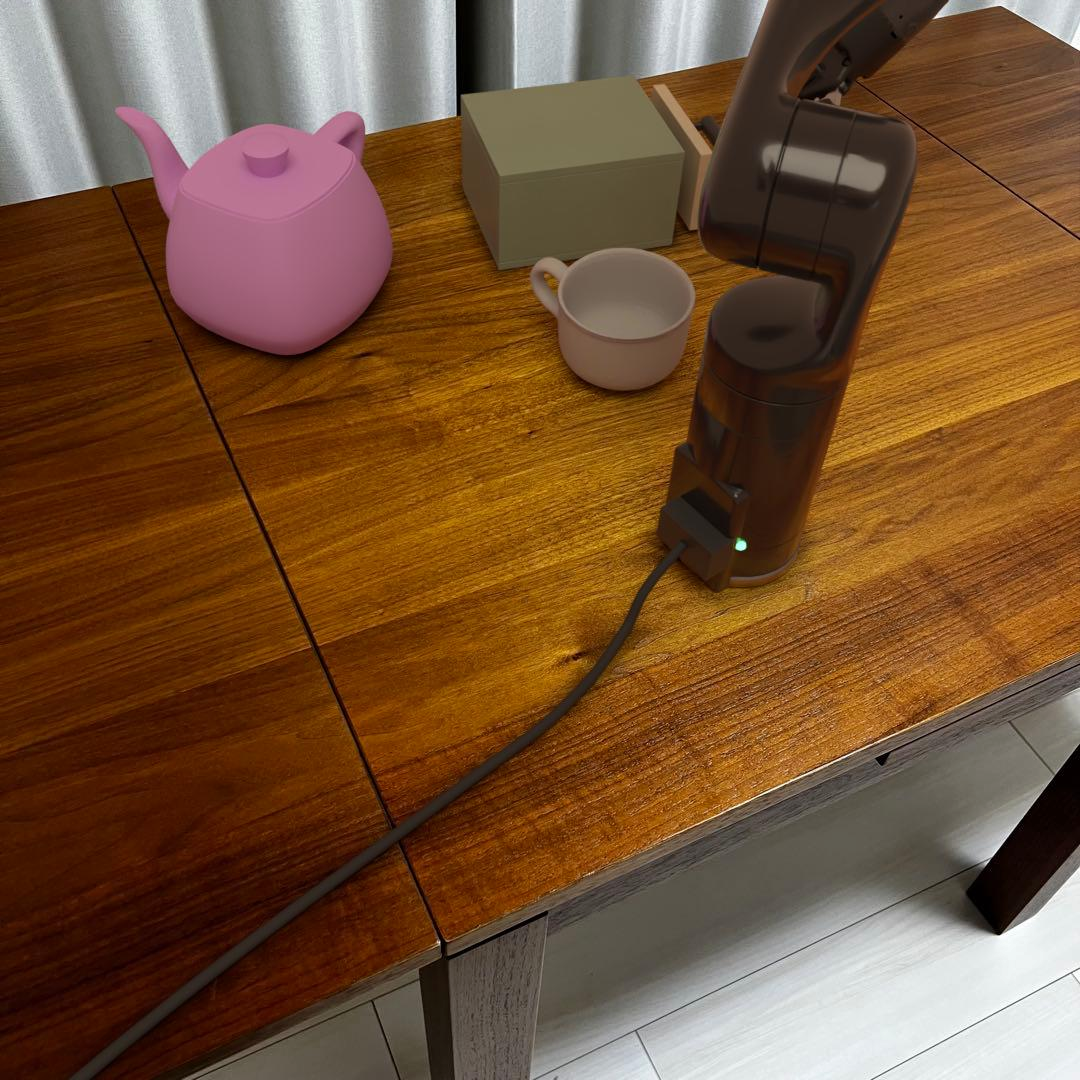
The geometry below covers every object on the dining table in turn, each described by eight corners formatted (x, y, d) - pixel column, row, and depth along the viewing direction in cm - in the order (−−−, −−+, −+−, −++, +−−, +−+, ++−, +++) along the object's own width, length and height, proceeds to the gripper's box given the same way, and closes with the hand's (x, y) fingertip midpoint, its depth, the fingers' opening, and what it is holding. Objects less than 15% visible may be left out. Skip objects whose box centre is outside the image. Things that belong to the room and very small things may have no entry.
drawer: (696, 152, 119) (707, 78, 113) (744, 222, 111) (759, 147, 106) (505, 177, 115) (506, 102, 109) (541, 252, 107) (544, 175, 101)
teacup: (709, 366, 99) (723, 288, 93) (625, 430, 94) (634, 351, 88) (584, 292, 105) (590, 214, 99) (498, 348, 100) (499, 269, 94)
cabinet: (624, 166, 119) (633, 74, 111) (672, 245, 110) (685, 151, 103) (462, 187, 115) (460, 94, 108) (498, 270, 107) (499, 175, 99)
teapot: (444, 255, 108) (440, 99, 97) (311, 391, 95) (288, 231, 84) (238, 183, 114) (211, 30, 103) (88, 303, 102) (38, 142, 90)
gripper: (828, -50, 107) (684, 92, 114) (896, 16, 99) (736, 166, 106) (867, 3, 112) (727, 136, 119) (935, 71, 104) (780, 210, 111)
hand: (732, 150), depth 112 cm, fingers closed
